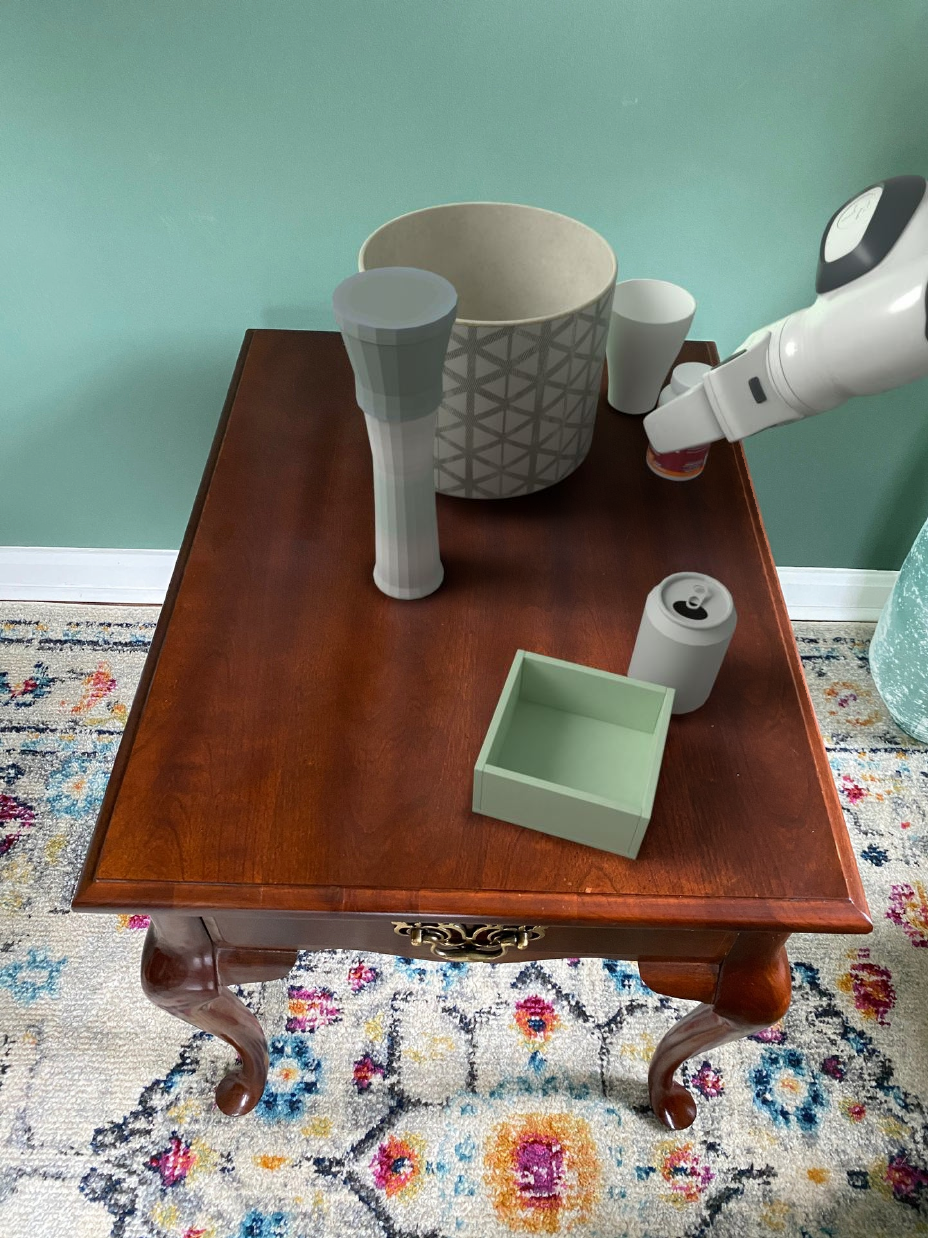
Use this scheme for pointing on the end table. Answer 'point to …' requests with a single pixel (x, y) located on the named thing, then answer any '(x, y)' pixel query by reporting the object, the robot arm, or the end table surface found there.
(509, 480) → the planter
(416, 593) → the grey tall flared cylinder
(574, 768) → the bin
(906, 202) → the robot arm
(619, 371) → the cup
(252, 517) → the end table surface
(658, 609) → the can
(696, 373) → the pill bottle
